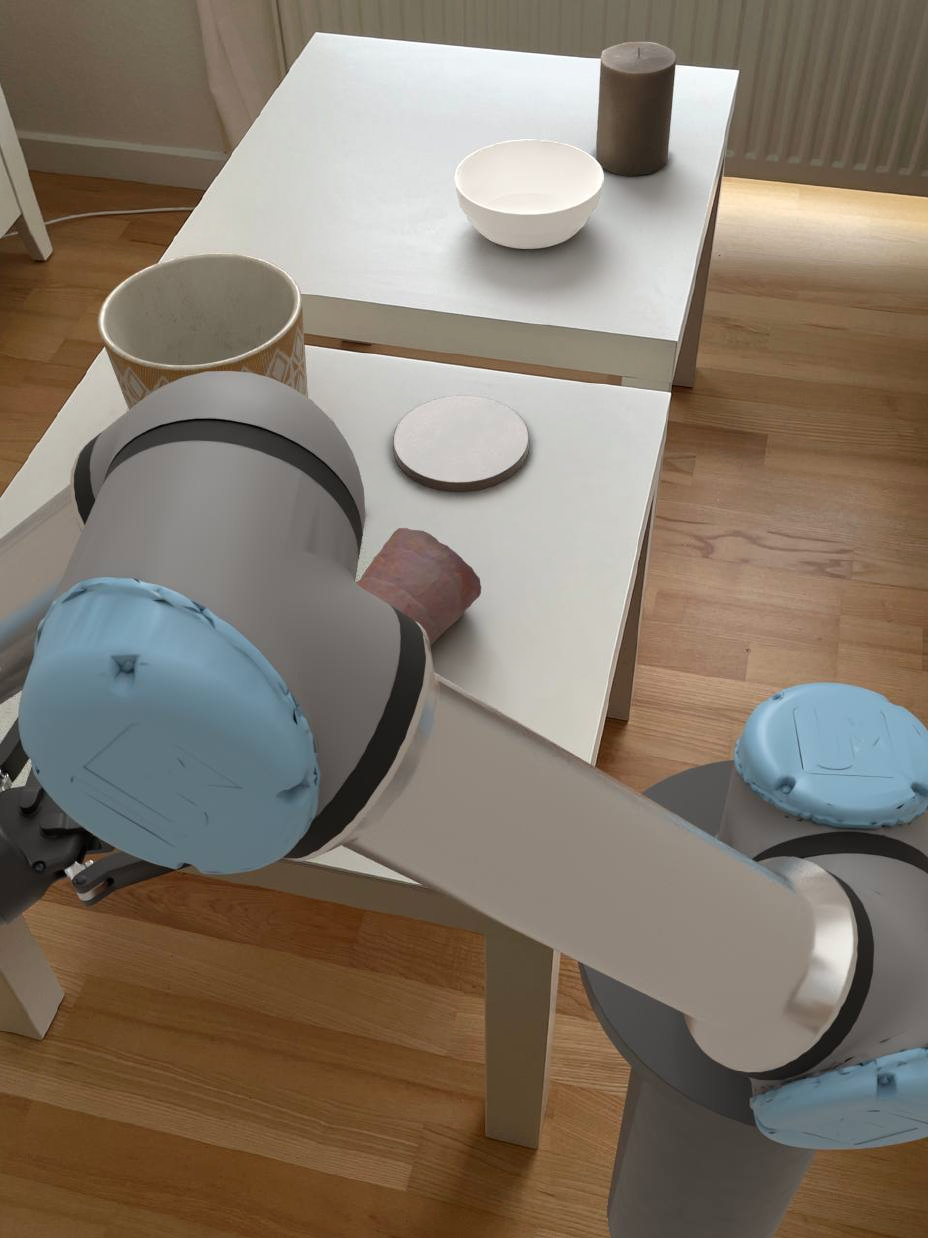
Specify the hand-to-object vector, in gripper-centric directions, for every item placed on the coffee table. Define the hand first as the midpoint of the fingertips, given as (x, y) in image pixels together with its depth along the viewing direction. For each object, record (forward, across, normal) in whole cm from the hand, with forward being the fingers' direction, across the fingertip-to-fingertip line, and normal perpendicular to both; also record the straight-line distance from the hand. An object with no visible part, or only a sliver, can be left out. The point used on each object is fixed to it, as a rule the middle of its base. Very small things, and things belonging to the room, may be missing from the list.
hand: (211, 701), depth 94 cm
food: (+16, -1, -11) cm, 19 cm away
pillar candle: (+102, -38, -11) cm, 109 cm away
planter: (+28, -34, -11) cm, 45 cm away
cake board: (+43, -15, -10) cm, 47 cm away
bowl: (+79, -37, -11) cm, 88 cm away
